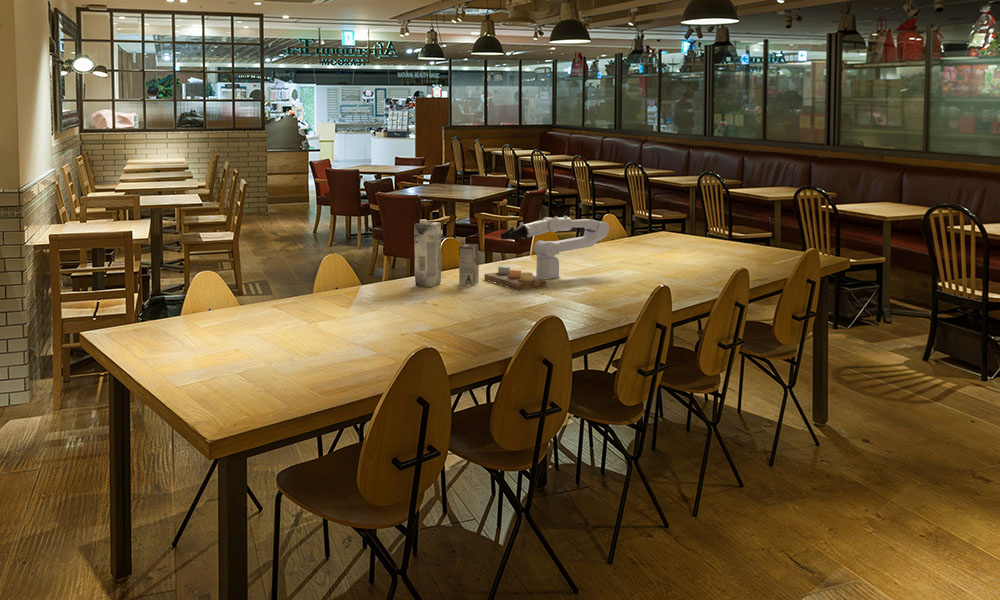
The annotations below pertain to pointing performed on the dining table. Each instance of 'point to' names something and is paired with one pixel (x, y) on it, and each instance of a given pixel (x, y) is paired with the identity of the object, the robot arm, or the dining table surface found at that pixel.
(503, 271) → the button blue
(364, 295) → the dining table surface
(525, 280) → the button ochre
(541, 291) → the dining table surface
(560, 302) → the dining table surface
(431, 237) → the juice carton
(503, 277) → the board
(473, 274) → the coffee box
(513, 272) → the button terracotta
